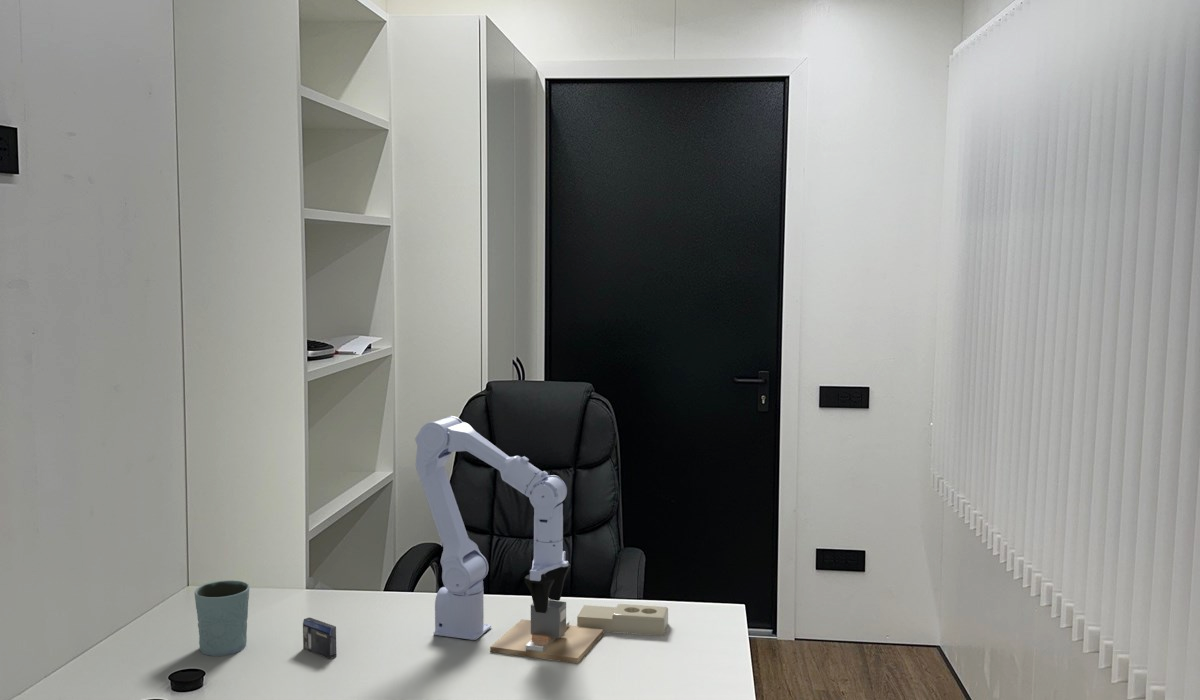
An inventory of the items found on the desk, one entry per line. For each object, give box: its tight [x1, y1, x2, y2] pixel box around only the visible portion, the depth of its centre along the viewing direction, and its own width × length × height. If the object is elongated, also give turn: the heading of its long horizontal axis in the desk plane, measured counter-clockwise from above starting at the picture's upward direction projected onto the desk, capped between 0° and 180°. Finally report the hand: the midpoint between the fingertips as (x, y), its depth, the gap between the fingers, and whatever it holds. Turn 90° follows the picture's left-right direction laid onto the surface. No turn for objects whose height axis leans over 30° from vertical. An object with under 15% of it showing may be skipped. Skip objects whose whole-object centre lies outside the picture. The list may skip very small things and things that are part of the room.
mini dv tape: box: [302, 617, 338, 660], centre depth 197 cm, size 8×2×6 cm, turn 53°
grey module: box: [530, 600, 567, 638], centre depth 203 cm, size 6×4×6 cm, turn 72°
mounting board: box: [489, 619, 605, 664], centre depth 203 cm, size 18×16×1 cm
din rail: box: [526, 620, 570, 652], centre depth 203 cm, size 4×15×2 cm, turn 162°
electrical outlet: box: [576, 603, 669, 637], centre depth 212 cm, size 7×4×18 cm
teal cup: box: [194, 579, 251, 657], centre depth 199 cm, size 10×10×12 cm
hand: (547, 605), depth 203 cm, fingers open, 7 cm apart
